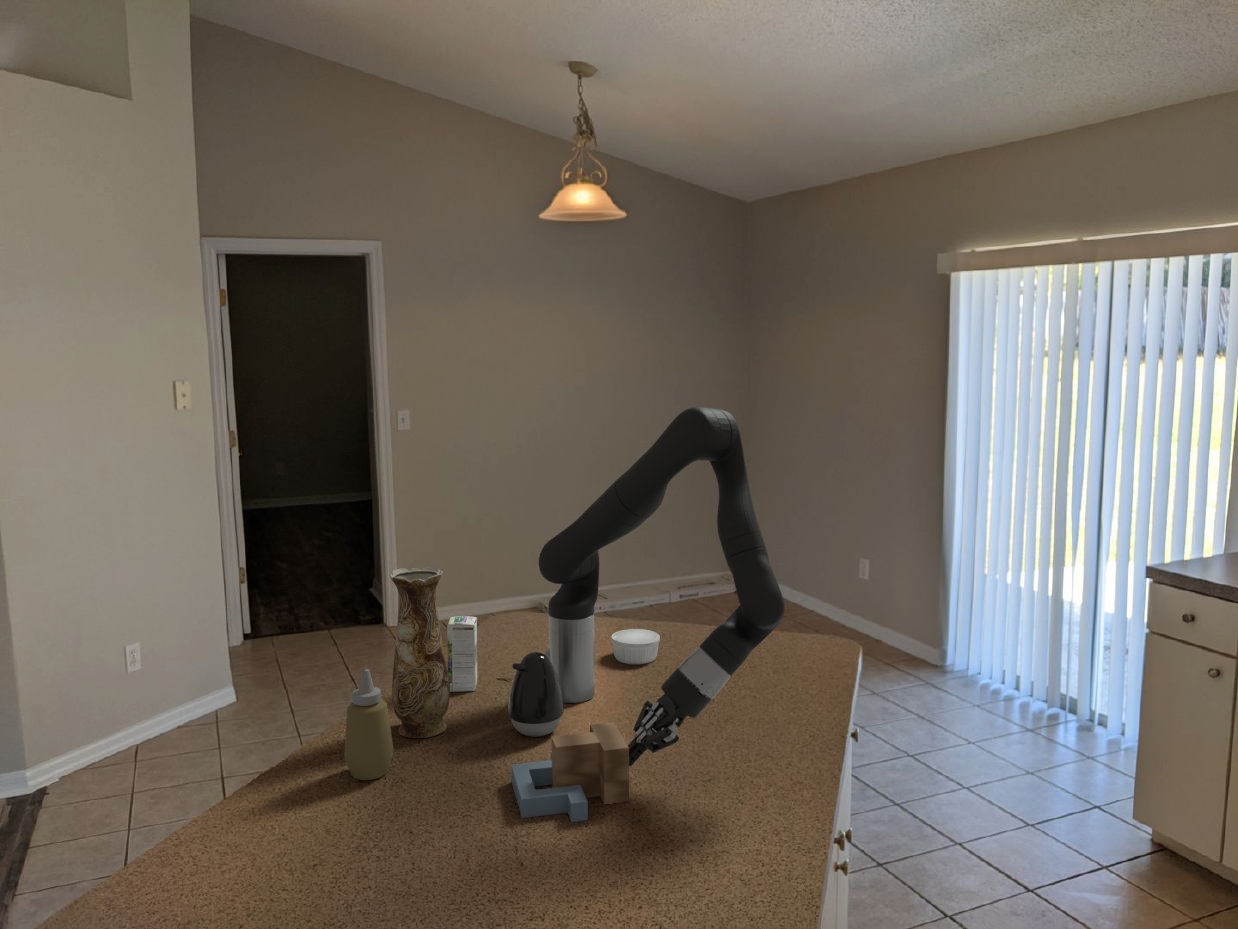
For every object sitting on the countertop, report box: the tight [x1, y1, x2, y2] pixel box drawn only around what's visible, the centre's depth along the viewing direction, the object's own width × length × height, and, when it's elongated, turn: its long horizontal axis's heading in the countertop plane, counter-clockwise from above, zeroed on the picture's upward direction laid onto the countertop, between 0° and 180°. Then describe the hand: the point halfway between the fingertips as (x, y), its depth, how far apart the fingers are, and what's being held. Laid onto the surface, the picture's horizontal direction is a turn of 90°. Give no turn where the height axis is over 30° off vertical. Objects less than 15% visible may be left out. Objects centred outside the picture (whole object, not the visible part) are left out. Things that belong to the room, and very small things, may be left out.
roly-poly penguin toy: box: [507, 651, 564, 738], centre depth 172 cm, size 10×10×15 cm
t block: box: [551, 721, 630, 806], centre depth 149 cm, size 11×10×9 cm
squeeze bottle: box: [343, 668, 394, 781], centre depth 155 cm, size 8×8×18 cm
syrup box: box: [446, 615, 478, 693], centre depth 194 cm, size 6×6×14 cm
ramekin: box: [610, 628, 661, 665], centre depth 212 cm, size 11×11×5 cm
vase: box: [389, 566, 450, 739], centre depth 172 cm, size 10×11×30 cm
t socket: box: [510, 751, 589, 823], centre depth 148 cm, size 10×18×3 cm, turn 14°
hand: (624, 761), depth 151 cm, fingers closed
